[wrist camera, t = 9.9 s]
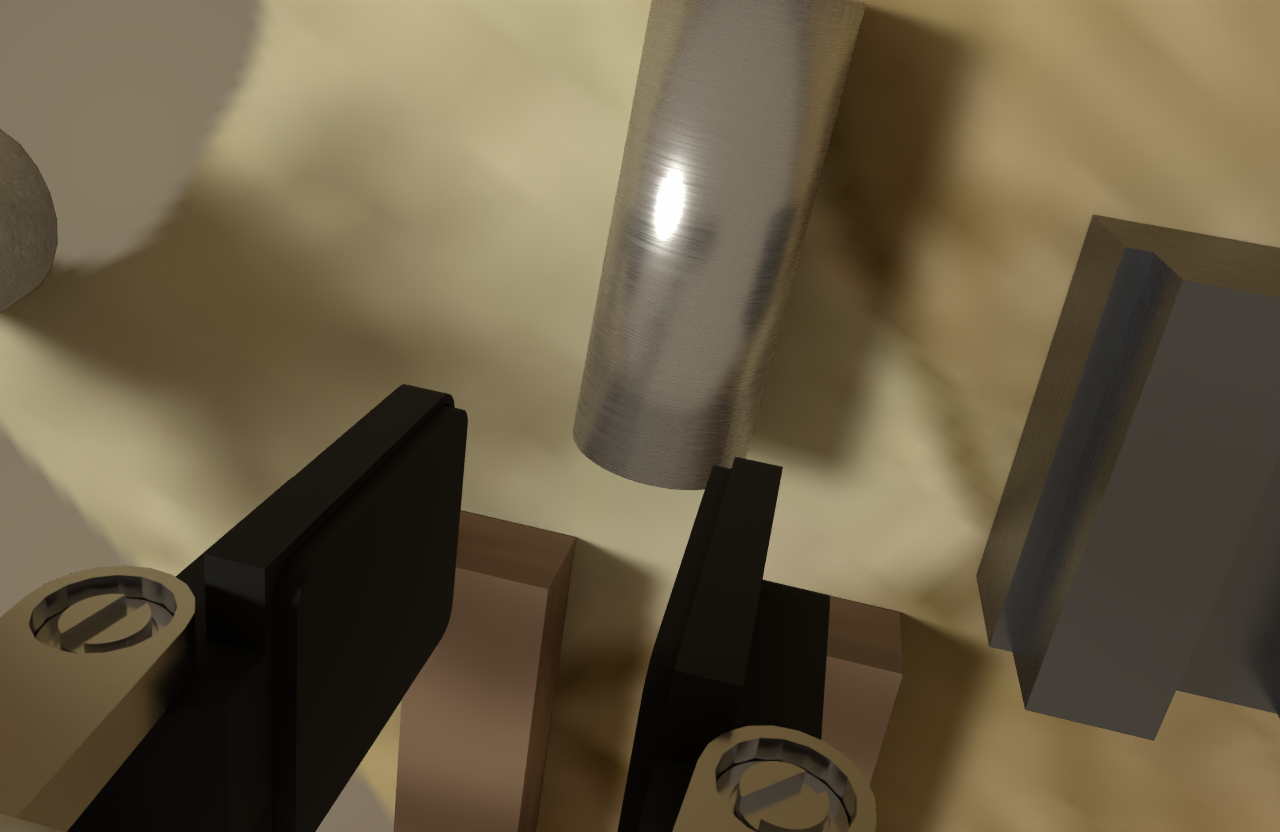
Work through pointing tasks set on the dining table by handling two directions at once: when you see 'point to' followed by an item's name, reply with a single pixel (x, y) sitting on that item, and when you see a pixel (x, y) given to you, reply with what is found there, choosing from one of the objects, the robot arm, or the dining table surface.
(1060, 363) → the v-block
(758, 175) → the axle
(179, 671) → the robot arm
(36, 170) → the house plant
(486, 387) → the dining table surface
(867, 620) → the parallel rectangular beams
